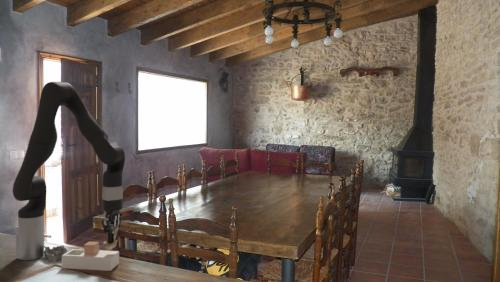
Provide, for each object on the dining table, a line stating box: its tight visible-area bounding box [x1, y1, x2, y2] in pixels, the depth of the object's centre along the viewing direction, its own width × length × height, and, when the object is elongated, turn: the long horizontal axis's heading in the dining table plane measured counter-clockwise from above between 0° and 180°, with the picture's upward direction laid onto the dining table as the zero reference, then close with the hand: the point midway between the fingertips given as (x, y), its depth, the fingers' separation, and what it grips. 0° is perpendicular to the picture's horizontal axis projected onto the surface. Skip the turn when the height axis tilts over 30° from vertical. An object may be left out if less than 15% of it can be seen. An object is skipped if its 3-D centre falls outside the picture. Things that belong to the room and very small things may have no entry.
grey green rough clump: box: [43, 245, 68, 262], centre depth 158 cm, size 11×8×4 cm
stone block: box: [83, 240, 100, 255], centre depth 149 cm, size 4×4×4 cm
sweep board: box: [61, 248, 120, 272], centre depth 149 cm, size 20×8×5 cm, turn 85°
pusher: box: [101, 226, 119, 251], centre depth 148 cm, size 3×6×8 cm, turn 175°
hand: (112, 241), depth 148 cm, fingers closed on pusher, 2 cm apart
